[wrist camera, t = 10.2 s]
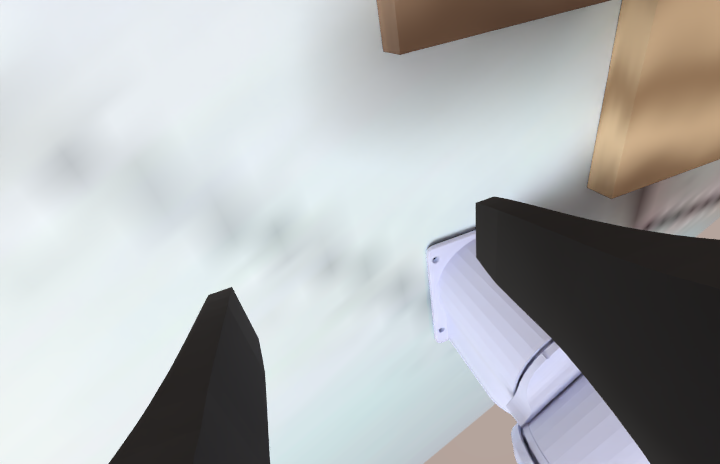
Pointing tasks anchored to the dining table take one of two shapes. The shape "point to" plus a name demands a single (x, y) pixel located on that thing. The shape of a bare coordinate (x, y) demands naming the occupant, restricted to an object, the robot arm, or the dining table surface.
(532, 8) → the walnut stand
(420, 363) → the dining table surface
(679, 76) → the oak stand
